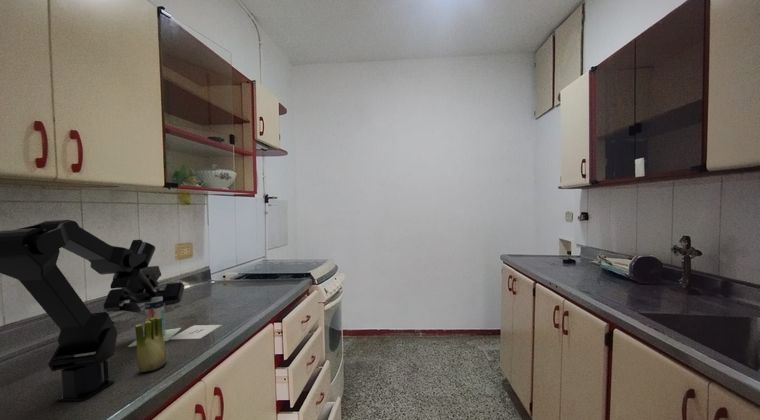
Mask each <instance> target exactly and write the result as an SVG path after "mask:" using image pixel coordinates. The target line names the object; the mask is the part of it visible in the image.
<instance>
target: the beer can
mask: <svg viewBox="0 0 760 420" xmlns="http://www.w3.org/2000/svg"><path fill="white" fill-rule="evenodd" d="M144 314H145V316H144V317H145V322H146V321H149V319H151V318H158V317H162V334H163V335H164V334H165V333H166V330H167V329H166V318H165V317H166V316H165V303H164V302H163V296H162V297H153V298H152V299H151V302H144Z"/></svg>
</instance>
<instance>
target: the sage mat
mask: <svg viewBox="0 0 760 420" xmlns="http://www.w3.org/2000/svg"><path fill="white" fill-rule="evenodd" d="M181 329H182V327H176V328H170V329H166V333H165V334H164V335H163V338H164V341H165V342H169V339H170V338H172V337H173V336H175V335H177V334H178V332H179V331H181ZM127 347H128V348H131V347H137V339H135V340H134V341H133V342H132V343H130V344H129V345H128V346H127Z"/></svg>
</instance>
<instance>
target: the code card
mask: <svg viewBox="0 0 760 420" xmlns="http://www.w3.org/2000/svg"><path fill="white" fill-rule="evenodd" d="M221 326H222V324H203V325H201V324H199V325H195V324H194V325H192V326H190V327H188V328H186V329H185V330H183V331H181V332H179V333H176V334H175V335H174V336H173V337H172V338H170V339H169V340H173V341H174V340H200V339H203V338H204V337H205V336H207V335H208V334H210V333H212V332H213V331H215V330H217V329H218V328H220V327H221ZM169 340H168V341H169Z"/></svg>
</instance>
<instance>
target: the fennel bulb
mask: <svg viewBox="0 0 760 420" xmlns="http://www.w3.org/2000/svg"><path fill="white" fill-rule="evenodd" d="M143 325H144V327H143ZM134 328H135V329H134V330H135V334H136V335H135V336H136V340H137V346H136V363H137V367H138V369H139V371H140V372H141V373H147V372H152V371H156V370H158V369H160V368H162V367H164V366H165V364H166V359H167V346H166V341H164V338H163V334H162V317H158V318H151V319H149V321H146V320H145V322H144V324H141V323H140V324H139V323H138V324H136V325H134ZM143 328H144V329H143Z"/></svg>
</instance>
